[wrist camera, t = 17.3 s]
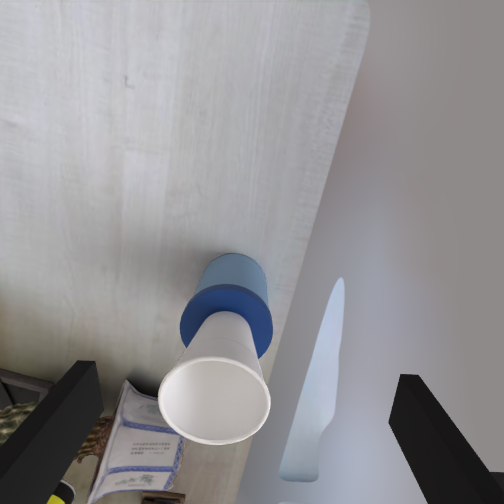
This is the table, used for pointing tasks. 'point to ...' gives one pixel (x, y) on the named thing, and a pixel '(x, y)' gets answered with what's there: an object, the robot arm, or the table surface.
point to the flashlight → (62, 494)
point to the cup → (216, 384)
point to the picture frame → (21, 389)
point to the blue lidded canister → (231, 298)
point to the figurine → (161, 497)
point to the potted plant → (121, 445)
